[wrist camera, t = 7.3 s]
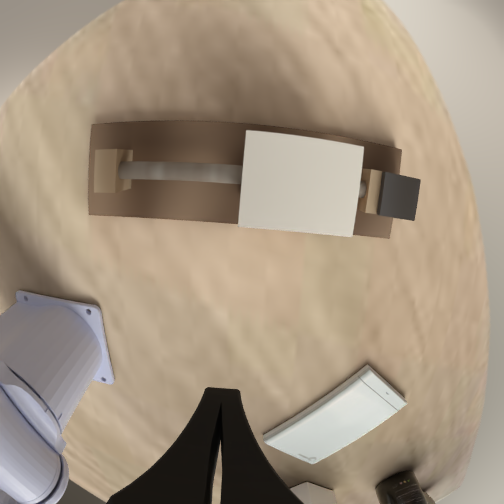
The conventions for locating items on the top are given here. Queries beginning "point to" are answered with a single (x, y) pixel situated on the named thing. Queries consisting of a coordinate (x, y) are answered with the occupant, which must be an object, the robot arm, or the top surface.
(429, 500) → the cream barrel-shaped cylinder
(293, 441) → the hard drive
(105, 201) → the cord rail
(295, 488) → the milk carton
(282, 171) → the white rounded cube
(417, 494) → the supplement bottle
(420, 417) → the top surface
